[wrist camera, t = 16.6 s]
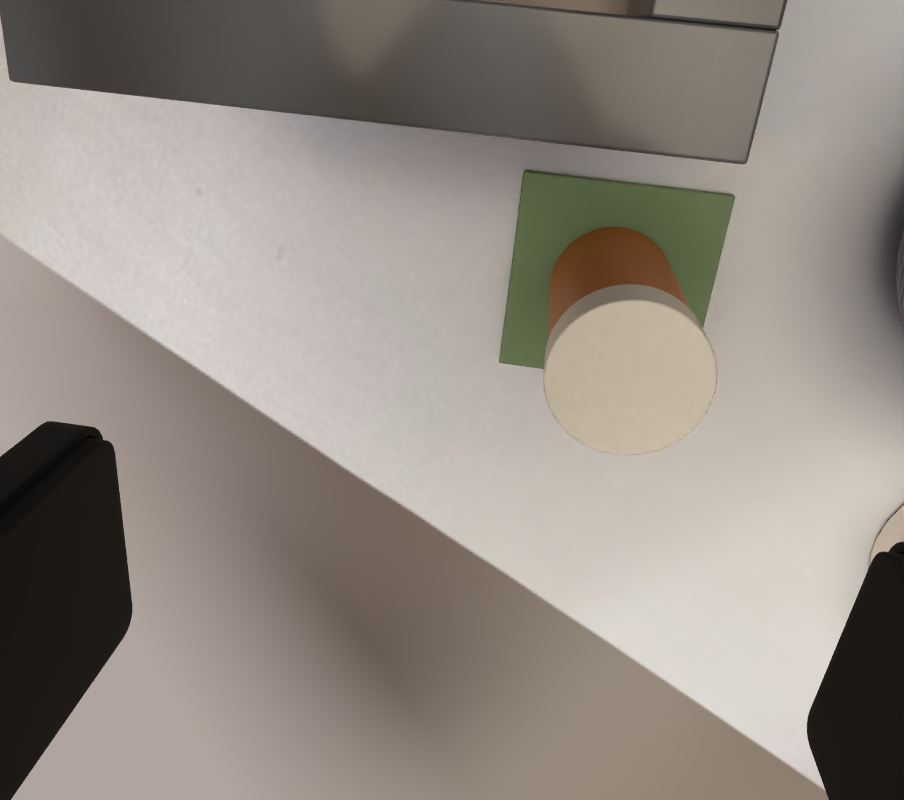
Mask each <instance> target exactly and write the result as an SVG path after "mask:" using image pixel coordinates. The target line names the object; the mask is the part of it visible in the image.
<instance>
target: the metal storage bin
mask: <svg viewBox="0 0 904 800" xmlns="http://www.w3.org/2000/svg"><path fill="white" fill-rule="evenodd" d="M786 4H787V0H0V16H1V23H2V30H3V37H4V44H5V51H6V58H7V65H8V72H9V78H10V80H11V81H13V82H19V83H28V84H37V85H46V86H55V87H63V88H72V89H81V90H90V91H99V92H108V93H116V94H125V95H134V96H143V97H152V98H161V99H169V100H178V101H187V102H196V103H205V104H214V105H222V106H231V107H240V108H249V109H258V110H267V111H275V112H284V113H293V114H302V115H311V116H320V117H329V118H337V119H346V120H355V121H364V122H373V123H382V124H390V125H399V126H408V127H417V128H426V129H435V130H443V131H452V132H461V133H470V134H479V135H488V136H496V137H505V138H514V139H523V140H532V141H541V142H549V143H558V144H567V145H576V146H585V147H594V148H602V149H611V150H620V151H629V152H638V153H647V154H655V155H664V156H673V157H682V158H691V159H700V160H708V161H717V162H726V163H735V164H746V162H747V161H748V157H749V153H750V149H751V145H752V141H753V137H754V133H755V129H756V125H757V121H758V117H759V113H760V109H761V105H762V101H763V97H764V93H765V89H766V85H767V81H768V77H769V73H770V69H771V65H772V60H773V56H774V52H775V48H776V44H777V40H778V36H779V33H778V31H776V30H778V29H779V28H780V26H781V24H782V20H783V16H784V12H785V8H786Z"/></svg>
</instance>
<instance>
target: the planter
mask: <svg viewBox="0 0 904 800" xmlns="http://www.w3.org/2000/svg"><path fill="white" fill-rule="evenodd" d="M896 288H897V299H898V305H899V309H900V314H901V318H902V323H903V326H904V230H903V234H902V238H901V242H900V246H899V253H898V260H897V271H896Z"/></svg>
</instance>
